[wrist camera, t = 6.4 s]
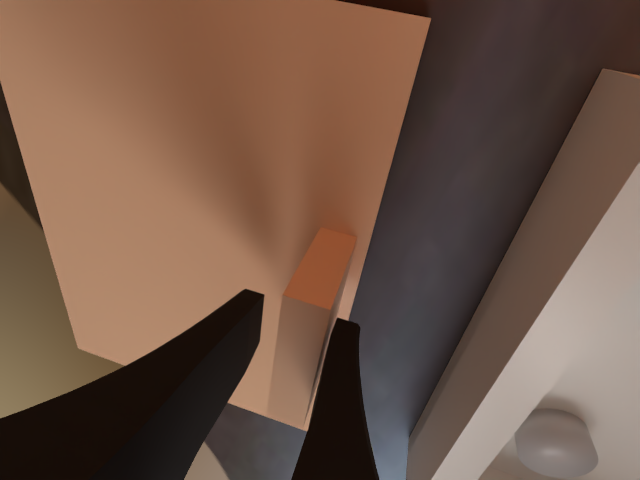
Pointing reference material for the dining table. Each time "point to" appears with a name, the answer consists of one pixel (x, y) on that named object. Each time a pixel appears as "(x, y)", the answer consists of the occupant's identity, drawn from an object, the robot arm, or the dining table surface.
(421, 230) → the dining table surface
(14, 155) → the dining table surface
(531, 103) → the dining table surface
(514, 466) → the parts tray
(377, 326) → the dining table surface
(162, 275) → the lid
